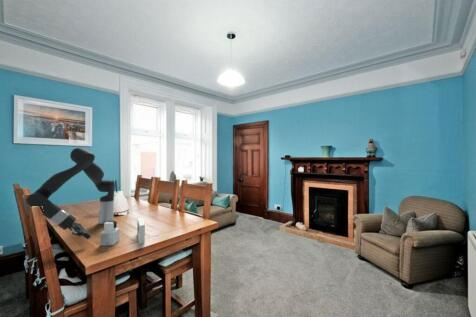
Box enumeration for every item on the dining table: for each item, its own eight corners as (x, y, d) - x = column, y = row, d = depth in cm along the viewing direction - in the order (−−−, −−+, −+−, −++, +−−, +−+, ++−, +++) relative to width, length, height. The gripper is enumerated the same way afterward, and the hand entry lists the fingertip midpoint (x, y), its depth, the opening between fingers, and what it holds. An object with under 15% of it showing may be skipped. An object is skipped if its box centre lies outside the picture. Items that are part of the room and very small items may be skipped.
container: (106, 240, 133) (107, 219, 132) (119, 240, 133) (120, 219, 133) (99, 245, 125) (100, 223, 125) (113, 245, 126) (114, 223, 125)
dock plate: (139, 243, 129) (139, 225, 128) (137, 233, 144) (137, 217, 144) (144, 242, 130) (144, 225, 130) (142, 233, 146) (142, 217, 146)
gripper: (66, 217, 113) (93, 236, 119) (71, 211, 125) (96, 228, 131) (53, 228, 111) (82, 247, 117) (60, 221, 122) (85, 238, 129)
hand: (89, 237), depth 124 cm, fingers closed
